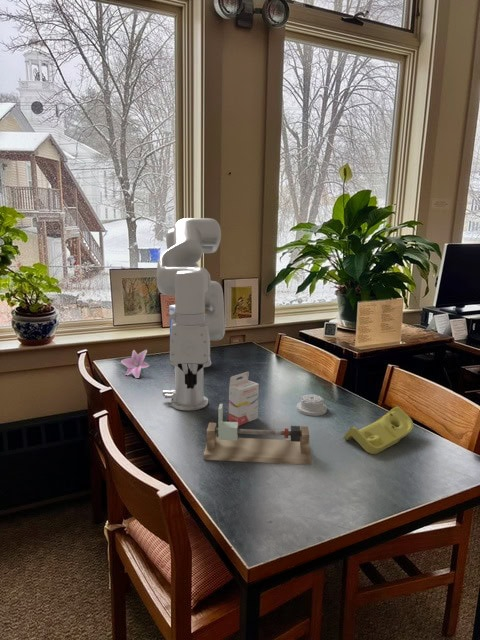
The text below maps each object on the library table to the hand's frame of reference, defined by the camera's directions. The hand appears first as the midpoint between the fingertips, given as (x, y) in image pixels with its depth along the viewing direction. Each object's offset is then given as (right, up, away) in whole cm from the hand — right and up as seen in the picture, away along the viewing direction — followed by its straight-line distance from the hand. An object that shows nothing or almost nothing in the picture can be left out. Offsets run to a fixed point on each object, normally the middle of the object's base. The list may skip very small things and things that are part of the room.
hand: (191, 386), depth 123 cm
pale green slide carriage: (+10, -14, +3) cm, 17 cm away
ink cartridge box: (+14, -14, +23) cm, 31 cm away
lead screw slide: (+18, -18, +3) cm, 26 cm away
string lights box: (-9, -1, +76) cm, 77 cm away
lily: (-28, -4, +62) cm, 69 cm away
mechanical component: (+37, -12, +32) cm, 50 cm away
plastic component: (+53, -17, +11) cm, 57 cm away
